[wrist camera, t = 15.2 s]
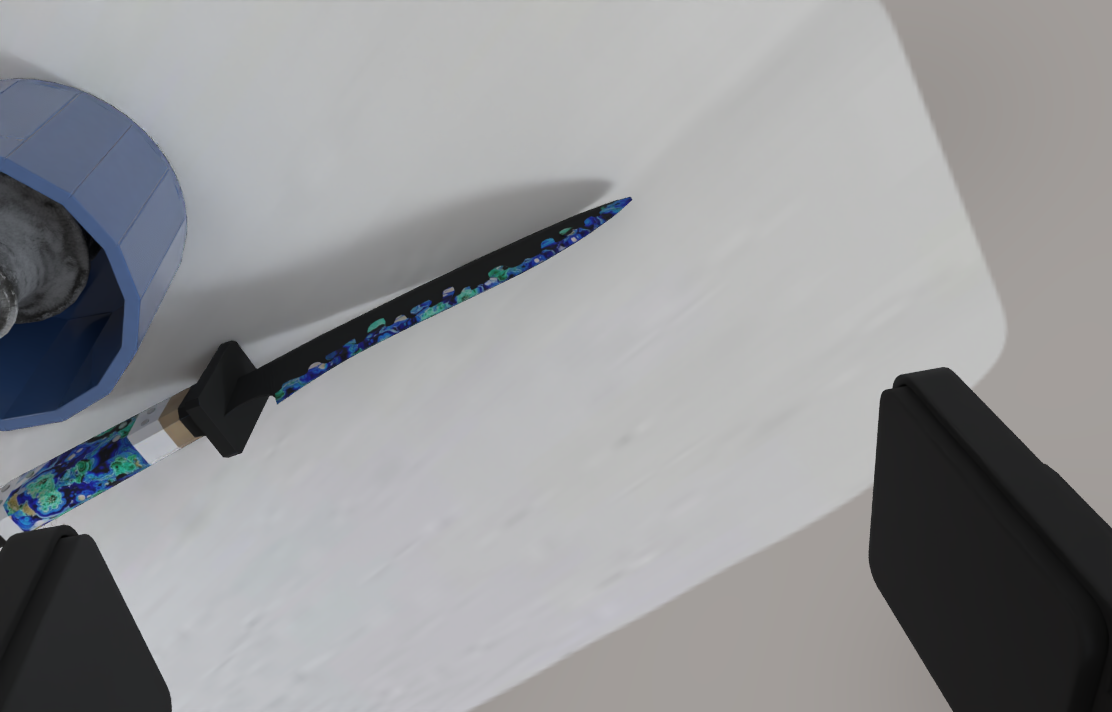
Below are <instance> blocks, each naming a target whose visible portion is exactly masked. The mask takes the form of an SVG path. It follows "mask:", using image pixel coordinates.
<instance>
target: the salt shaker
mask: <svg viewBox="0 0 1112 712" xmlns="http://www.w3.org/2000/svg"><path fill="white" fill-rule="evenodd" d="M101 248H102V247H101V246H100V245H99V244H98V243H97V242H96V241H95V240H94V239H93V237H92V236H91V235H90V234H89V233H88V232H87V231H86V230H85V229H84V228H83V227H82V226H81V225H80V224H79V223H78V221H77V220H76V219H75V218H74V217H73V216H72V215H71V214H70V213H69V212H68V211H67V210H66V209H65V208H64V207H63V205H61V204H59V203H58V202H56V201H54V200H52V199H50V198H48V197H47V196H45V195H43V194H41V193H39V192H37V191H36V190H34V189H32V188H30V187H28V186H27V185H25V184H23V183H21V182H19V181H17V180H16V179H14V178H12V177H10V176H8V175H6V174H5V173H3V172H0V338H2V337H3V336H4V335H6V334H7V333H8V332H9V330H10V329H11V327H12V326H13V325H14V323H15V324H22V323H30V322H38V321H43V320H45V319H48V318H50V317H53V316H55V315H58V314H60V313H61V312H63V311H64V310H65V309H67V308H68V307H69V306H71V305H72V304H73V303H74V302H75V301H76V300H77V298H78V297H79V295H80V294H81V292H82V291H83V289H84V288H85V286H86V284H87V280H88V276H89V273H90V269H91V264H90V262H91V261H92V260H93V259H94V258H95V257H96V255H97V254H98V252H99V251H100V249H101Z"/></svg>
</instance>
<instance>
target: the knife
mask: <svg viewBox="0 0 1112 712" xmlns="http://www.w3.org/2000/svg"><path fill="white" fill-rule="evenodd" d="M631 200H632V199H631V197H628V198H624V199H620V200H616V201H613V202H610V203H607V204H605V205H602V206H599V207H596V208H594V209H591V210H588V211H586V212H583V213H580V214H578V215H575V216H573V217H570V218H568V219H566V220H563V221H561V222H559V223H557V224H554V225H552V226H550V227H548V228H545V229H543V230H541V231H538V232H536V233H534V234H532V235H529V236H527V237H525V238H523V239H521V240H518V241H516V242H514V243H512V244H510V245H507V246H505V247H503V248H501V249H499V250H496V251H494V252H492V253H490V254H488V255H485V256H483V257H481V258H479V259H477V260H474V261H472V262H470V263H468V264H466V265H464V266H462V267H460V268H457V269H455V270H453V271H451V272H449V273H447V274H445V275H443V276H440V277H438V278H436V279H434V280H432V281H430V282H428V283H426V284H423V285H421V286H419V287H417V288H415V289H413V290H411V291H409V292H407V293H405V294H403V295H401V296H399V297H397V298H395V299H393V300H391V301H389V302H387V303H385V304H383V305H381V306H379V307H377V308H375V309H373V310H371V311H369V312H367V313H365V314H363V315H361V316H359V317H357V318H355V319H353V320H351V321H349V322H347V323H345V324H343V325H341V326H339V327H337V328H335V329H333V330H331V331H329V332H327V333H324V334H322V335H320V336H319V337H317V338H315V339H313V340H311V341H309V342H307V343H305V344H303V345H301V346H300V347H298V348H296V349H294V350H292V351H290V352H288V353H286V354H285V355H283V356H281V357H279V358H277V359H275V360H273V361H271V362H269V363H267V364H266V365H264V366H262V367H260V368H258V369H256V368H255V367H254V365H253V364H252V363H251V361H250V360H249V359H248V357H247V356H246V354H245V353H244V352H243V350H242V349H241V348H240V346H239V345H238V343H237V342H235V341H230V342H227V343H224V344H221V345H220V347H219V348H218V350H217V351H216V353H215V355H214V356H213V358H212V360H211V361H210V363H209V364H208V366H207V368H206V369H205V371H204V372H203V374H202V376H201V377H200V379H199V380H198V382H197V383H196V384H194V385H192V386H191V387H189V388H187V389H185V390H183V391H181V392H179V393H178V394H176V395H174V396H172V397H170V398H168V399H166V400H164V401H162V402H160V403H158V404H156V405H155V406H153V407H151V408H149V409H147V410H145V411H143V412H141V413H139V414H137V415H135V416H134V417H132V418H130V419H128V420H126V421H124V422H122V423H120V424H118V425H116V426H114V427H112V428H111V429H109V430H107V431H105V432H103V433H101V434H99V435H97V436H95V437H93V438H91V439H90V440H88V441H86V442H84V443H82V444H80V445H78V446H76V447H74V448H72V449H70V450H68V451H67V452H65V453H63V454H61V455H59V456H57V457H55V458H53V459H51V460H49V461H47V462H46V463H44V464H42V465H40V466H38V467H36V468H34V469H32V470H30V471H28V472H26V473H24V474H23V475H21V476H19V477H17V478H15V479H13V480H11V481H10V482H8V483H7V484H6V485H4V486H3V487H2V488H0V548H1V547H3V546H4V544H5V542H6V541H7V540H8V538H9V537H10V536H12V535H14V534H16V533H21V532H27V531H33V530H36V529H38V528H39V527H41V526H43V525H45V524H47V523H48V522H50V521H52V520H54V519H56V518H57V517H59V516H61V515H63V514H65V513H66V512H68V511H70V510H72V509H74V508H75V507H77V506H79V505H81V504H83V503H84V502H86V501H88V500H90V499H92V498H93V497H95V496H97V495H99V494H100V493H102V492H104V491H106V490H108V489H109V488H111V487H113V486H115V485H117V484H118V483H120V482H122V481H124V480H126V479H127V478H129V477H131V476H133V475H135V474H136V473H138V472H140V471H142V470H144V469H145V468H147V467H149V466H151V465H153V464H154V463H156V462H158V461H160V460H161V459H163V458H165V457H167V456H169V455H170V454H172V453H174V452H176V451H177V450H179V449H181V448H183V447H185V446H186V445H188V444H190V443H192V442H194V441H195V440H197V439H199V438H201V437H203V436H207V438H208V439H209V440H210V441H211V443H212V444H213V445H214V446H215V448H216V449H217V450H218V451H219V453H220V454H221V455H222V456H223V457H227V458H229V457H231V456H234V455H237V454H240V453H242V451H243V449H244V447H245V445H246V443H247V441H248V439H249V437H250V435H251V433H252V431H253V429H254V426H255V424H256V422H257V420H258V418H259V416H260V414H261V412H262V410H263V408H264V406H265V404H266V402H267V399H268V397H269V396H274V397H275V398H276V402H277V404H279V403H280V402H281V401H283V400H284V399H286V398H287V397H289V396H290V395H292V394H293V393H294V392H296V391H297V390H299V389H300V388H302V387H303V386H305V385H306V384H308V383H310V382H311V381H313V380H314V379H316V378H317V377H319V376H320V375H322V374H324V373H325V372H327V371H329V370H330V369H332V368H334V367H335V366H337V365H339V364H340V363H342V362H343V361H345V360H347V359H348V358H350V357H352V356H354V355H356V354H358V353H360V352H362V351H364V350H366V349H368V348H369V347H371V346H373V345H375V344H377V343H379V342H381V341H383V340H385V339H387V338H389V337H391V336H393V335H395V334H397V333H399V332H401V331H403V330H405V329H407V328H409V327H411V326H413V325H415V324H417V323H419V322H421V321H423V320H426V319H428V318H430V317H432V316H434V315H436V314H438V313H440V312H442V311H444V310H447V309H449V308H451V307H453V306H455V305H457V304H459V303H461V302H463V301H466V300H468V299H470V298H472V297H474V296H476V295H478V294H480V293H482V292H484V291H486V290H489V289H491V288H493V287H495V286H497V285H499V284H501V283H503V282H505V281H507V280H509V279H511V278H513V277H515V276H517V275H519V274H521V273H523V272H525V271H527V270H529V269H531V268H532V267H534V266H536V265H538V264H540V263H542V262H544V261H546V260H547V259H549V258H551V257H552V256H554V255H556V254H557V253H559V252H561V251H562V250H564V249H566V248H567V247H569V246H571V245H572V244H574V243H575V242H577V241H579V240H580V239H582V238H583V237H585V236H587V235H588V234H590V233H591V232H592V231H594V230H595V229H597V228H598V227H599V226H601V225H602V224H604V223H605V222H606V221H608V220H609V219H610V218H612V217H613V216H614V215H616V214H617V213H618V212H619V211H620V210H622V209H623V208H624V207H625V206H626V205H627V204H628V203H629V202H630V201H631Z"/></svg>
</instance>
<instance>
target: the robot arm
mask: <svg viewBox="0 0 1112 712" xmlns="http://www.w3.org/2000/svg"><path fill="white" fill-rule="evenodd" d="M869 564H870V569H871V573H872V576H873V579H874V581H875V583H876V585H877V587H878V589H879V590H880V592H881V593H882V595H883V597H884V598H885V600H886V601H887V603H888V605H889V607H890V608H891V610H892V612H893V613H894V615H895V616H896V618H897V620H898V621H899V623H900V625H901V626H902V628H903V630H904V631H905V633H906V635H907V636H908V638H909V640H910V641H911V643H912V644H913V646H914V648H915V649H916V651H917V653H918V654H919V656H920V658H921V659H922V661H923V663H924V664H925V666H926V668H927V669H928V671H929V673H930V674H931V676H932V677H933V679H934V681H935V682H936V684H937V685H938V687H939V689H940V691H941V692H942V694H943V696H944V697H945V699H946V701H947V702H948V704H949V706H950V707H951V709H952V710H953V712H1112V528H1111V527H1110V526H1109V525H1108V524H1107V523H1106V522H1105V521H1104V520H1103V519H1102V518H1101V517H1100V516H1099V515H1098V514H1097V513H1096V512H1095V511H1094V510H1093V509H1092V508H1091V507H1090V506H1089V505H1088V504H1087V503H1086V502H1085V501H1084V500H1083V499H1082V498H1081V497H1080V496H1079V495H1078V494H1077V493H1076V492H1075V490H1074V489H1072V487H1070V485H1068V483H1067V482H1066V481H1065V480H1064V479H1063V478H1062V477H1060V475H1059V474H1058V473H1057V472H1055V471H1054V470H1053V469H1052V468H1050V467H1049V466H1048V465H1046V464H1043V463H1042V462H1041V461H1040V460H1039V459H1038V458H1037V457H1036V456H1035V455H1034V454H1033V453H1032V452H1031V451H1030V450H1029V448H1027V446H1026V445H1025V444H1024V443H1023V442H1022V441H1021V440H1020V439H1019V438H1018V437H1017V436H1016V435H1015V434H1014V433H1013V432H1012V431H1011V430H1010V429H1009V428H1008V427H1007V426H1006V425H1005V424H1004V423H1003V422H1002V421H1001V420H1000V419H999V418H998V417H997V416H996V415H995V414H994V413H993V412H992V411H991V409H990V408H988V406H987V405H986V404H985V403H984V402H983V401H982V400H981V399H980V398H979V397H978V396H977V395H976V394H975V393H974V392H973V391H972V390H971V389H970V388H969V387H968V386H967V385H966V384H965V383H964V382H963V381H962V380H961V379H960V378H959V377H958V376H957V375H956V374H955V373H954V372H953V371H952V370H950V369H949V368H945V367H941V368H936V369H930V370H925V371H919V372H913V373H908V374H902V375H899V376H898V377H896V379H895V381H894V383H893V388H892V389H887V390H885V391H883V392H882V394H881V398H880V407H879V420H878V434H877V447H876V461H875V474H874V487H873V501H872V515H871V528H870V541H869ZM0 712H172V706H171V697H170V692H169V690H168V687H167V685H166V683H165V681H164V679H163V677H162V675H161V673H160V671H159V669H158V667H157V665H156V663H155V661H154V659H153V657H152V655H151V653H150V651H149V649H148V647H147V645H146V643H145V641H144V639H143V637H142V635H141V633H140V631H139V629H138V627H137V625H136V623H135V621H134V619H133V617H132V615H131V613H130V611H129V609H128V607H127V605H126V603H125V601H124V599H123V597H122V595H121V593H120V591H119V589H118V587H117V585H116V583H115V581H114V579H113V577H112V575H111V573H110V571H109V569H108V567H107V565H106V563H105V561H104V559H103V557H102V555H101V553H100V551H99V549H98V547H97V545H96V543H95V541H94V540H93V538H92V537H91V536H89V535H87V534H82V535H78V534H77V532H76V531H75V530H74V529H73V528H72V527H70V526H68V525H60V526H55V527H49V528H44V529H38V530H33V531H27V532H21V533H16V534H14V535H12V536H10V537H9V538H8V540H7V541H6V542H5V544H4V546H3V548H2V549H1V551H0Z"/></svg>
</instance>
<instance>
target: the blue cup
mask: <svg viewBox="0 0 1112 712" xmlns="http://www.w3.org/2000/svg"><path fill="white" fill-rule="evenodd" d="M0 172H3V173H5V174H6V175H8V176H10V177H12V178H14V179H16V180H17V181H19V182H21V183H23V184H25V185H27V186H28V187H30V188H32V189H34V190H36V191H37V192H39V193H41V194H43V195H45V196H47V197H48V198H50V199H52V200H54V201H56V202H58V203H59V204H61V205H63V207H64V208H65V209H66V210H67V211H68V212H69V213H70V214H71V215H72V216H73V217H74V218H75V219H76V220H77V221H78V223H79V224H80V225H81V226H82V227H83V228H84V229H85V230H86V231H87V232H88V233H89V234H90V235H91V236H92V237H93V239H94V240H95V241H96V242H97V243H98V244H99V245H100V246H101V247H102V248H101V249H100V251H99V252H98V254H97V255H96V257H95V258H94V259H93V260H92V261H91V262H90V264H91V269H90V273H89V276H88V280H87V284H86V286H85V288H84V289H83V291H82V292H81V294H80V295H79V297H78V298H77V300H76V301H75V302H74V303H73V304H72V305H71V306H69V307H68V308H67V309H65V310H64V311H63V312H61V313H60V314H58V315H55V316H53V317H50V318H48V319H45V320H43V321H38V322H30V323H22V324H15V323H14V325H13V326H12V327H11V329H10V330H9V332H8V333H7V334H6V335H4V336H3V337H2V338H0V431H5V430H6V431H10V430H16V429H22V428H28V427H33V426H39V425H45V424H51V423H57V422H62V421H65V420H67V419H69V418H70V417H72V416H74V415H75V414H77V413H78V412H80V411H82V410H83V409H85V408H87V407H88V406H90V405H92V404H93V403H95V402H97V401H98V400H100V399H102V398H103V397H105V396H107V395H108V394H109V393H111V391H112V390H113V388H114V387H115V385H116V384H117V382H118V380H119V379H120V377H121V376H122V374H123V373H124V371H125V370H126V368H127V367H128V365H129V363H130V362H131V360H132V359H133V357H134V356H135V354H136V353H137V350H138V348H139V346H140V344H141V342H142V340H143V338H144V336H145V334H146V332H147V330H148V328H149V326H150V324H151V322H152V320H153V318H154V316H155V314H156V312H157V310H158V308H159V306H160V304H161V302H162V300H163V298H164V296H165V294H166V292H167V290H168V288H169V286H170V284H171V282H172V280H173V278H174V276H175V274H176V272H177V270H178V268H179V266H180V264H181V261H182V253H183V250H184V246H185V240H186V235H187V216H186V208H185V202H184V198H183V194H182V191H181V187H180V185H179V183H178V180H177V178H176V175H175V173H174V171H173V169H172V168H171V166H170V164H169V162H168V161H167V159H166V157H165V156H164V154H163V153H162V152H161V150H160V149H159V148H158V146H157V145H156V144H155V142H154V141H153V140H152V139H151V138H150V137H149V136H148V135H147V134H146V133H145V132H144V131H143V130H142V129H141V128H140V127H139V126H138V125H137V124H136V123H134V122H133V121H132V120H131V119H130V118H128V117H127V116H126V115H125V114H123V113H122V112H120V111H119V110H117V109H116V108H114V107H113V106H111V105H110V104H108V103H106V102H104V101H102V100H100V99H98V98H97V97H95V96H93V95H90V94H88V93H85V92H83V91H80V90H78V89H75V88H73V87H69V86H65V85H62V84H58V83H55V82H48V81H42V80H36V79H5V80H0Z"/></svg>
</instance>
